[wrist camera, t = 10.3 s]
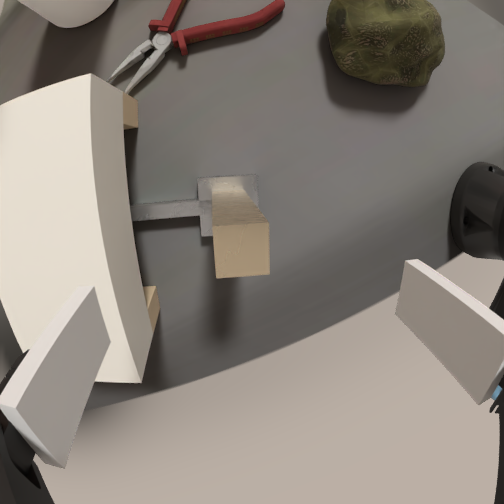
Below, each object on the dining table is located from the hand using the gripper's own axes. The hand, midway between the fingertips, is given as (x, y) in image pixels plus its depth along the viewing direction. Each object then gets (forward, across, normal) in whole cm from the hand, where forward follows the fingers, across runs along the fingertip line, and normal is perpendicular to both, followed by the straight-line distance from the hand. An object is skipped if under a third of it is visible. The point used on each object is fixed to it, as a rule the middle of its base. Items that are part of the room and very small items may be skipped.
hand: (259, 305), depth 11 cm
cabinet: (+21, +15, 0) cm, 26 cm away
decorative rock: (+22, -18, -20) cm, 35 cm away
